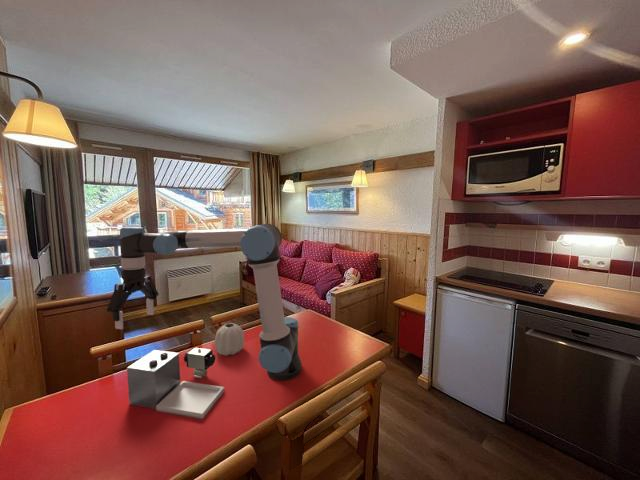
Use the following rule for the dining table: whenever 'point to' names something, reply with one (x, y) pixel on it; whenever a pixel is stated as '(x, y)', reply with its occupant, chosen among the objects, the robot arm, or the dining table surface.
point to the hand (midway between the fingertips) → (135, 321)
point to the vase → (229, 339)
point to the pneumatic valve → (199, 361)
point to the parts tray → (191, 399)
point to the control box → (153, 378)
